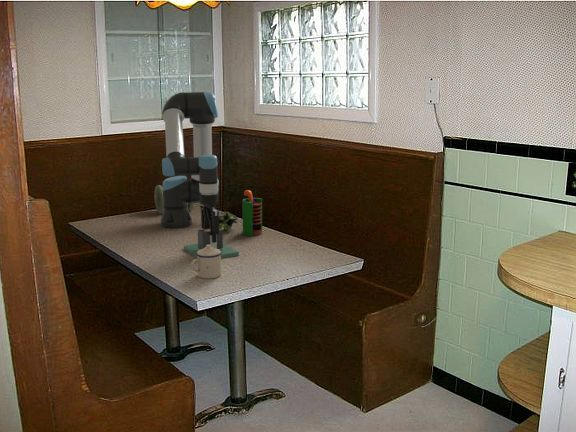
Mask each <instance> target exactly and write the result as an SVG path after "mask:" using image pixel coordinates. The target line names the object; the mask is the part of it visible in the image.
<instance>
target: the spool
mask: <svg viewBox="0 0 576 432" xmlns="http://www.w3.org/2000/svg"><path fill="white" fill-rule="evenodd" d="M162 189H163V185H161V184H158V185H157V184H156V186H155V187H154V195H153V197H154V205H155V208H156V209H155V210H156V211H157V213H158V214H160V215H162V214H163V210H164V205H163V190H162ZM194 204H195V203H188V210H189V212H191V211H193V208H194Z"/></svg>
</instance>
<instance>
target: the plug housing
mask: <svg viewBox="0 0 576 432" xmlns="http://www.w3.org/2000/svg"><path fill="white" fill-rule="evenodd" d="M223 231H224V230H223V228H221V229H220V228H219V234H217V249H223V243H224V237H223V235H224V233H223ZM209 234H211V232H210V228H209V229H202V228H201V229H197V244H198V249H200V250H201V249H203V248H205V247H206V245H210V235H209Z"/></svg>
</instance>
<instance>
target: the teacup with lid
mask: <svg viewBox="0 0 576 432" xmlns="http://www.w3.org/2000/svg"><path fill="white" fill-rule="evenodd" d="M196 262H197V269H196V268H195V267H194V264H195V263H196ZM190 268H191V270H192V271H193V272H195V273H197V276H198V277H199V278H200V279H207V280H208V279H209V280H210V279H216V278H219V277H221V276H222V258H221V251H220V250H219V249H215V248H213V247H211V245H206V247H205V248H203V249H201V250H199V251H197V257H196V258H194V259H193V260H191V263H190Z"/></svg>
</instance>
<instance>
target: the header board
mask: <svg viewBox="0 0 576 432" xmlns="http://www.w3.org/2000/svg"><path fill="white" fill-rule="evenodd" d="M183 250H184V251H186V252H187V253H189V254H190V255H192V256H193V257H195V258H197V251H199V250H200V249H198V243H195V244H188V245H187V244H186V245H183ZM219 250H220V251H221V259H225V258H230V257H231V258H232V257H237V256H240V254H239V252H240V251H238V250H236V249H235V248H232V247H231V246H229V245H227V244H225V243H224V242H223V249H219Z"/></svg>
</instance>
